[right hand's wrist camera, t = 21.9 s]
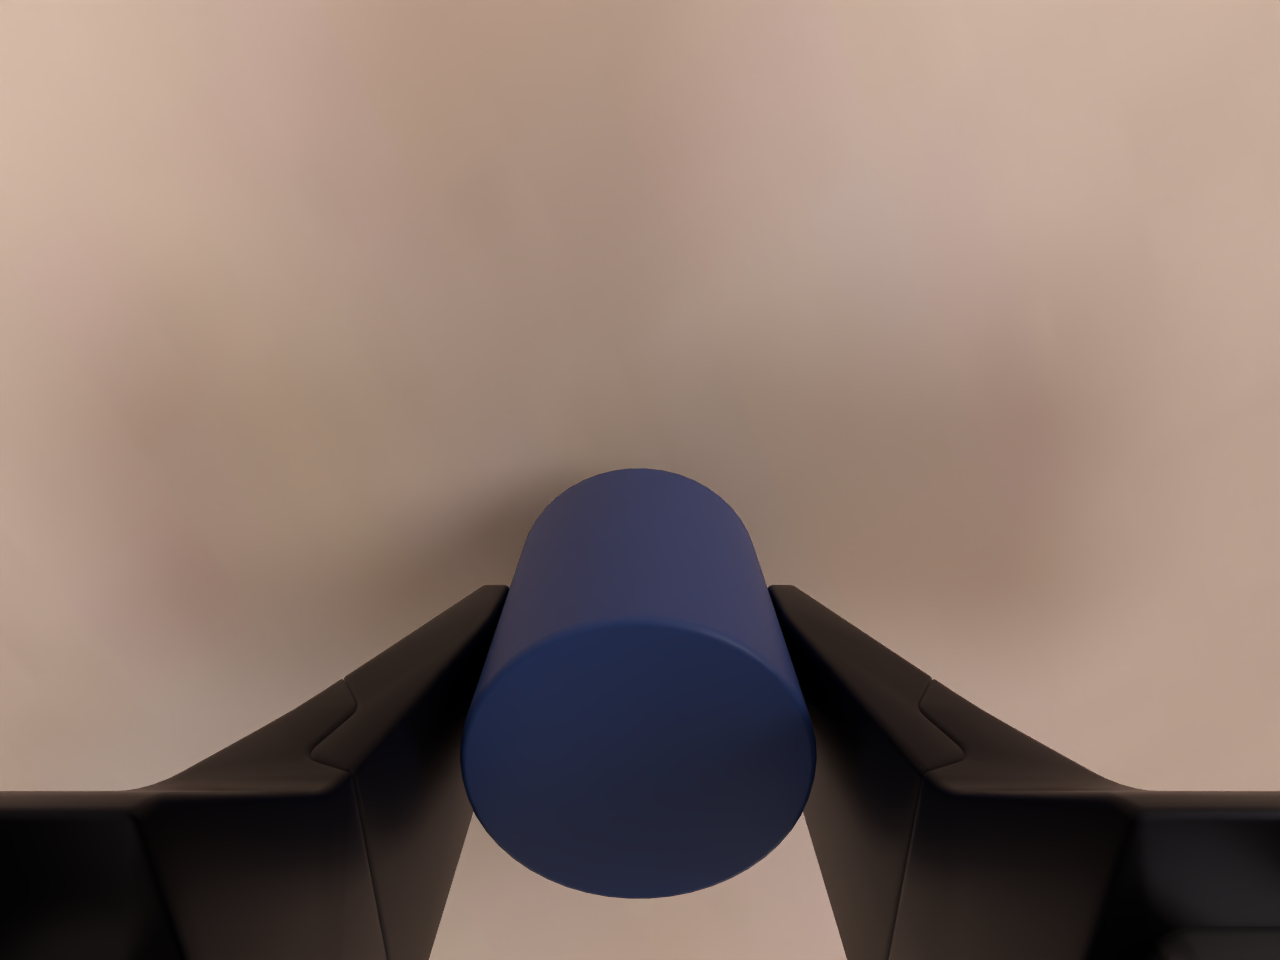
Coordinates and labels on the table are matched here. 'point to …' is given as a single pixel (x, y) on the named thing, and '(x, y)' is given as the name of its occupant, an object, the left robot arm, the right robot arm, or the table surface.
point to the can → (638, 696)
